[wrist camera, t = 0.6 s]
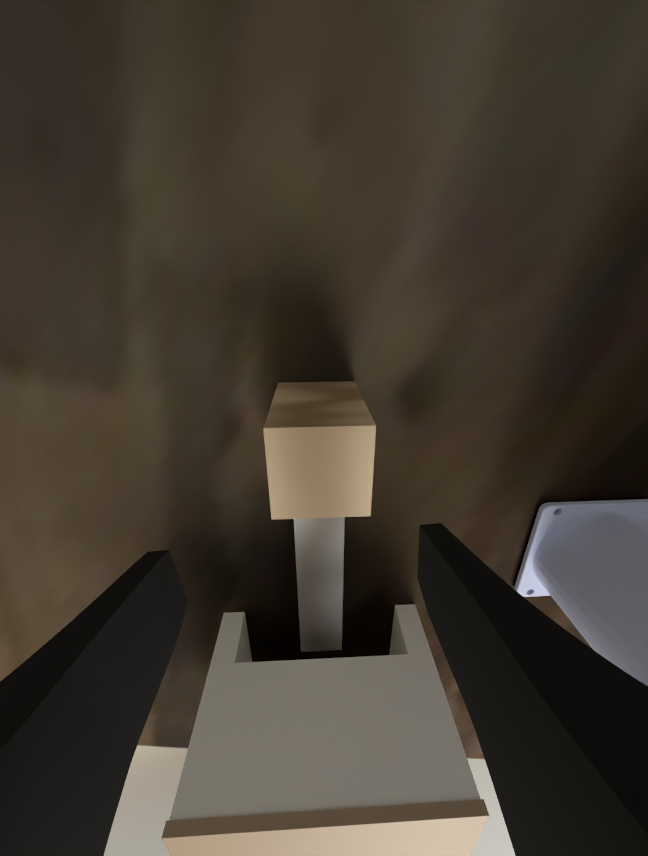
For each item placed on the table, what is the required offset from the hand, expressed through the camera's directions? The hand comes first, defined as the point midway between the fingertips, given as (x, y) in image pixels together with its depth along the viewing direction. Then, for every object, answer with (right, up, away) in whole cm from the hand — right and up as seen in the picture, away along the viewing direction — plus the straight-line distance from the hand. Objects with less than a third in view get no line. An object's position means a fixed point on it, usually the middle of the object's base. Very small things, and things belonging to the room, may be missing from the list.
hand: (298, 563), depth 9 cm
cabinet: (0, -14, +16) cm, 21 cm away
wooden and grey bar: (0, -3, +12) cm, 12 cm away
